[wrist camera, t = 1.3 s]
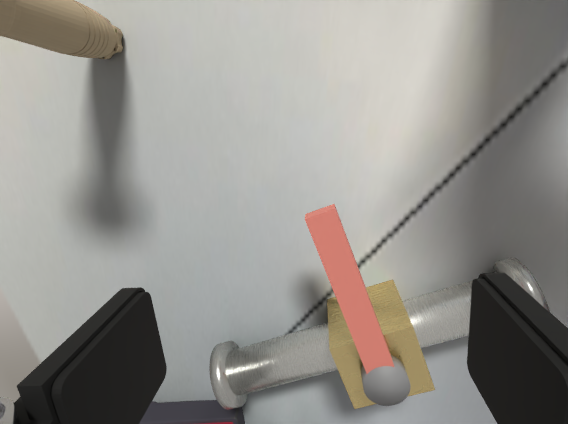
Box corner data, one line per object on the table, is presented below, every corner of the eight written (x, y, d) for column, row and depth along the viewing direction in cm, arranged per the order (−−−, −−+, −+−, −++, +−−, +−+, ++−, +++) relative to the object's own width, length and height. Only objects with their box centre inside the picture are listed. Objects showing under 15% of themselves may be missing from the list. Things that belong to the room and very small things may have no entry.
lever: (410, 384, 29) (416, 399, 28) (368, 394, 30) (371, 410, 28) (343, 199, 25) (345, 205, 24) (296, 216, 26) (295, 223, 24)
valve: (500, 246, 34) (556, 289, 26) (515, 303, 35) (572, 359, 27) (220, 331, 39) (196, 387, 31) (243, 377, 41) (225, 441, 33)
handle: (143, 72, 32) (2, 45, 18) (75, 65, 32) (-116, 32, 18) (142, 13, 31) (-10, -69, 16) (72, 6, 31) (-138, -80, 17)
